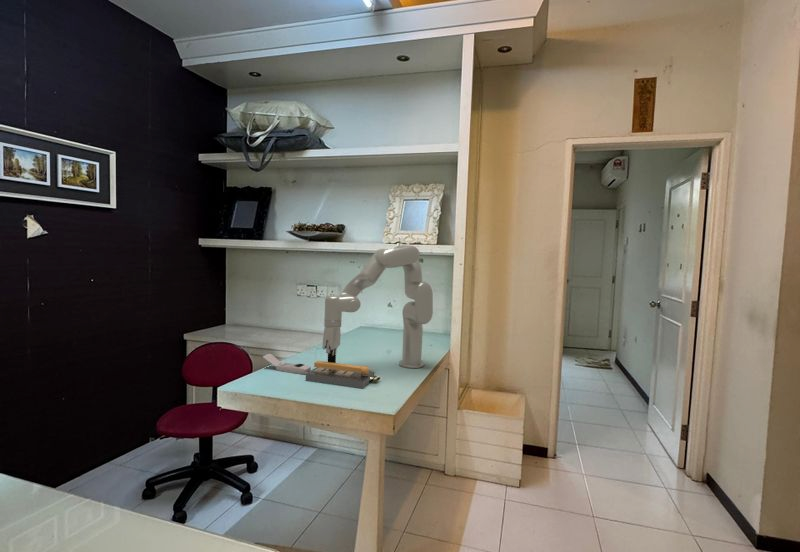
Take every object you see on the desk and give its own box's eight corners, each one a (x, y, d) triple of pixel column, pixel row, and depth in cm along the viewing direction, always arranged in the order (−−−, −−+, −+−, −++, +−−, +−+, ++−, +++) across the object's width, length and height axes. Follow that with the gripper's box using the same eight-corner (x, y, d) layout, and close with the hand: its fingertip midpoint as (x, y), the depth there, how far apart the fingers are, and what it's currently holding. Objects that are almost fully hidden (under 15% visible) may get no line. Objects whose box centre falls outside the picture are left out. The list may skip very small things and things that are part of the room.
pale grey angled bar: (269, 353, 190) (315, 359, 182) (269, 365, 191) (315, 372, 183) (261, 356, 185) (308, 363, 177) (261, 369, 185) (308, 376, 177)
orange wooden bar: (317, 365, 178) (317, 360, 178) (370, 372, 172) (370, 366, 172) (313, 367, 175) (313, 362, 175) (367, 374, 168) (367, 369, 168)
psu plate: (320, 371, 184) (321, 362, 184) (374, 378, 177) (374, 369, 177) (305, 380, 171) (305, 371, 170) (362, 388, 163) (363, 379, 163)
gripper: (331, 319, 187) (330, 358, 189) (317, 325, 173) (316, 367, 174) (346, 321, 186) (345, 360, 187) (334, 326, 171) (332, 369, 172)
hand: (331, 363), depth 180 cm, fingers closed
